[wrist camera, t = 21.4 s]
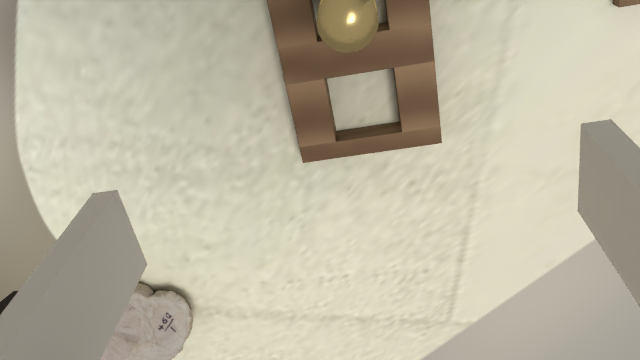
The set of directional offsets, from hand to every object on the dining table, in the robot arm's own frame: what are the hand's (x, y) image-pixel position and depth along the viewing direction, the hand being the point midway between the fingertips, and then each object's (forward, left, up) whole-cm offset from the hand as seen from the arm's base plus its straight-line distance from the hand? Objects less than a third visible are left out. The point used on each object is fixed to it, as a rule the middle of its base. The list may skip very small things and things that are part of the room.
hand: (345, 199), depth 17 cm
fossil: (+27, -25, -29) cm, 46 cm away
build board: (+4, 0, -29) cm, 29 cm away
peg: (0, 0, -29) cm, 29 cm away
